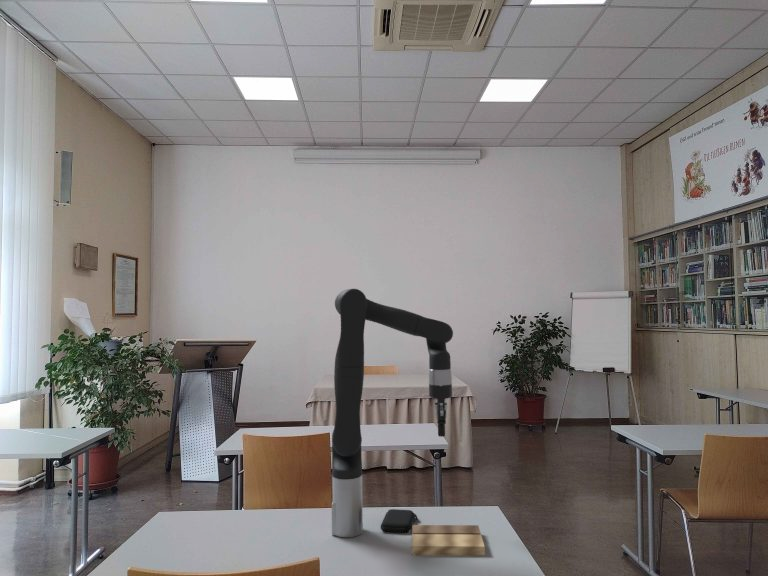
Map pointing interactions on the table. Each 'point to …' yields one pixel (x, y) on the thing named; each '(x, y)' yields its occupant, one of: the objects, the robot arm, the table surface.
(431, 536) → the oak plank
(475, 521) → the table surface
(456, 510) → the table surface
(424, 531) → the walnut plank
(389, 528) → the carrying case or bag
